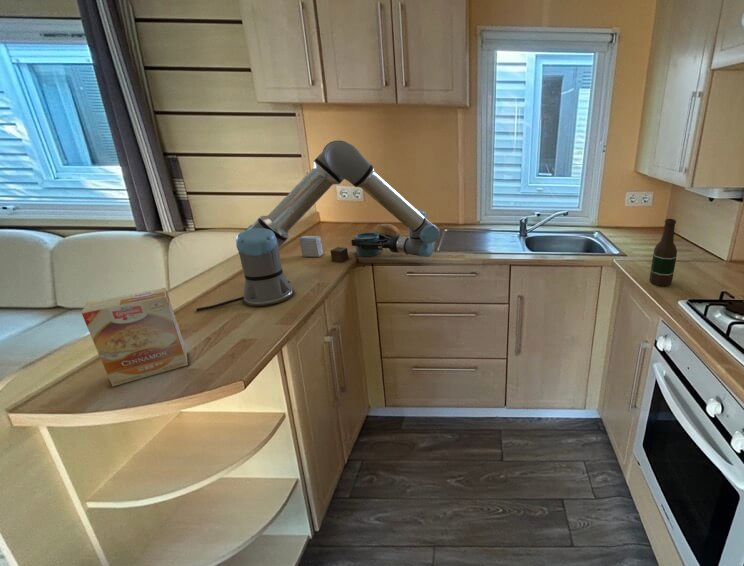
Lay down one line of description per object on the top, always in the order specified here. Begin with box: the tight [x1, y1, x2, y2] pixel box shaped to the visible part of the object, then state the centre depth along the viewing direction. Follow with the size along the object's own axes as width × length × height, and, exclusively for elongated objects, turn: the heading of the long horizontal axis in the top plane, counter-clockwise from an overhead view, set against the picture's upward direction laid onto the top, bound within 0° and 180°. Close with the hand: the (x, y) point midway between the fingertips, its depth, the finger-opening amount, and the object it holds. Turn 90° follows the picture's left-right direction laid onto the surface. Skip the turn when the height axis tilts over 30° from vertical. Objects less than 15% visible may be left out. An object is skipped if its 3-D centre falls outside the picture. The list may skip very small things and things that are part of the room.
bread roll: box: [373, 223, 402, 236], centre depth 206 cm, size 10×15×8 cm, turn 72°
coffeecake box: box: [81, 287, 188, 387], centre depth 98 cm, size 15×7×20 cm, turn 126°
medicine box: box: [298, 235, 324, 258], centre depth 182 cm, size 8×4×9 cm, turn 84°
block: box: [330, 246, 349, 263], centre depth 177 cm, size 5×5×5 cm
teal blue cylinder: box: [353, 231, 382, 257], centre depth 186 cm, size 11×11×8 cm
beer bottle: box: [649, 218, 678, 288], centre depth 146 cm, size 8×8×24 cm
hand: (361, 239), depth 186 cm, fingers closed on teal blue cylinder, 11 cm apart
